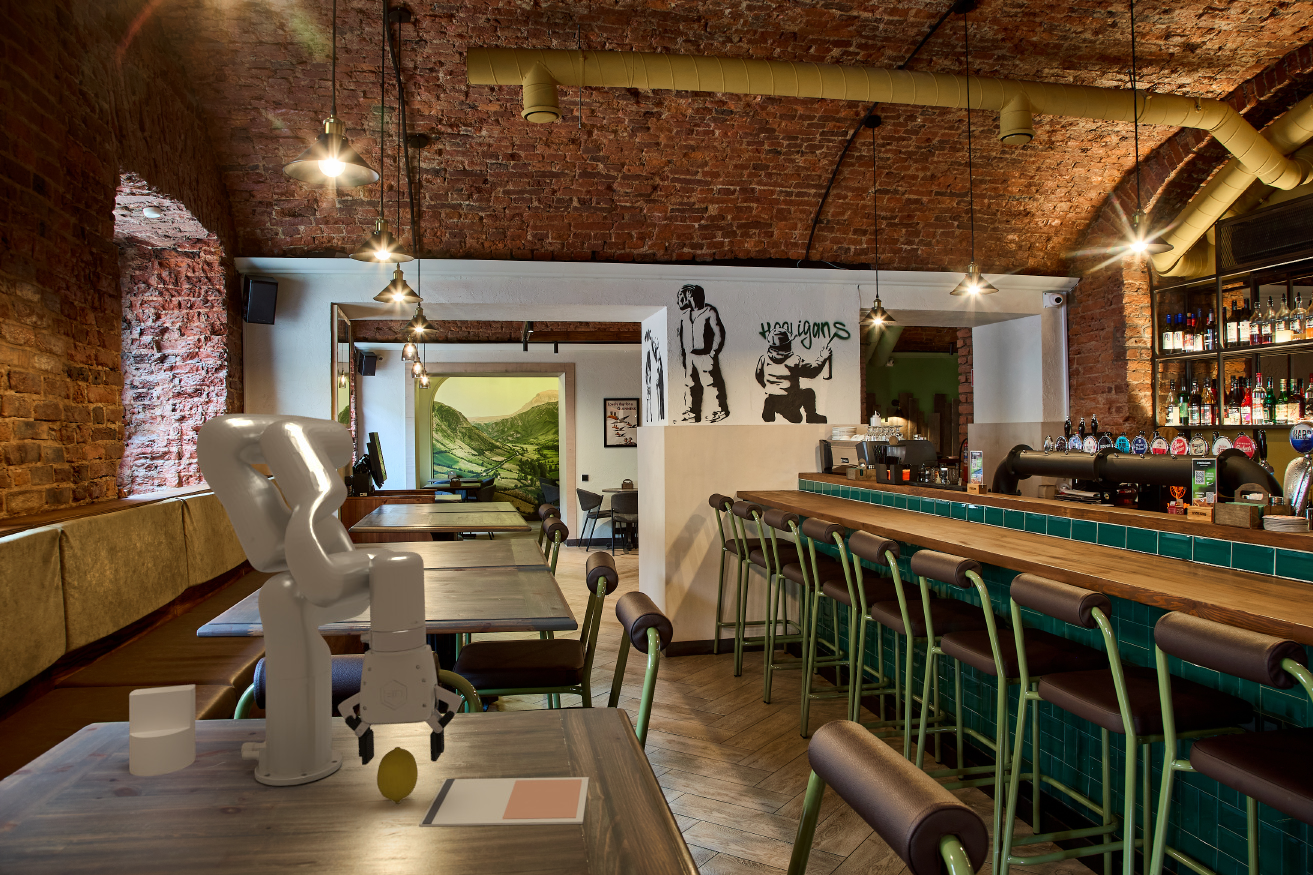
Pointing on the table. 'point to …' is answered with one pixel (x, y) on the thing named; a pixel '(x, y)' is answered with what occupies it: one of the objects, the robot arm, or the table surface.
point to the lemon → (397, 774)
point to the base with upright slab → (161, 729)
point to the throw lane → (508, 802)
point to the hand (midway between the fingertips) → (402, 759)
